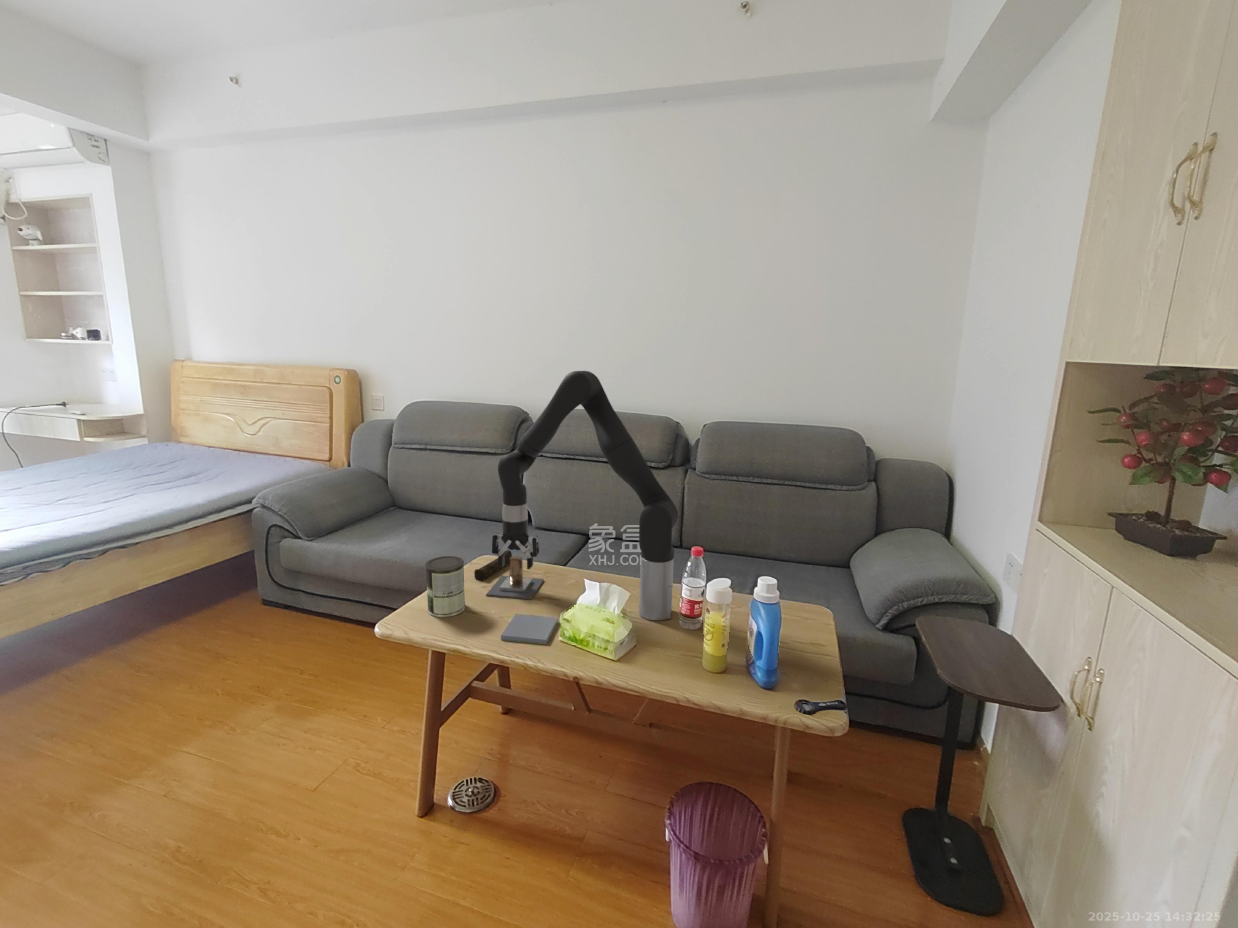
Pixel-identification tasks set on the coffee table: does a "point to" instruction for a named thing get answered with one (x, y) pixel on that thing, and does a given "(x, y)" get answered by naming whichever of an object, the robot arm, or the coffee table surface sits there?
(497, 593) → the rest mat
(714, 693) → the coffee table surface
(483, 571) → the dark brown bar
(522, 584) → the brown post on base
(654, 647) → the coffee table surface
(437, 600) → the coffee can
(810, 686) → the coffee table surface
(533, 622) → the tile
